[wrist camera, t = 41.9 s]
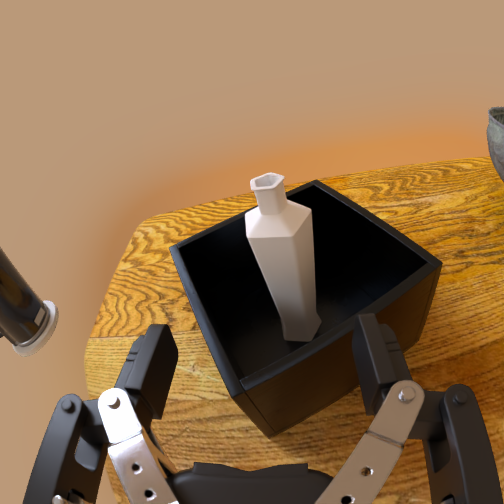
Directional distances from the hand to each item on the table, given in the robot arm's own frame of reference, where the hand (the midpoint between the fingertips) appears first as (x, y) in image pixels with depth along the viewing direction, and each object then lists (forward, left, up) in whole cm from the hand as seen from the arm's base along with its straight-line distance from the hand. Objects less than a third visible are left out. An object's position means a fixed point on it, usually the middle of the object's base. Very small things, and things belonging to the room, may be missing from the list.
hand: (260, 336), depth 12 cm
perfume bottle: (+5, +8, -13) cm, 16 cm away
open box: (+5, +8, -14) cm, 16 cm away
